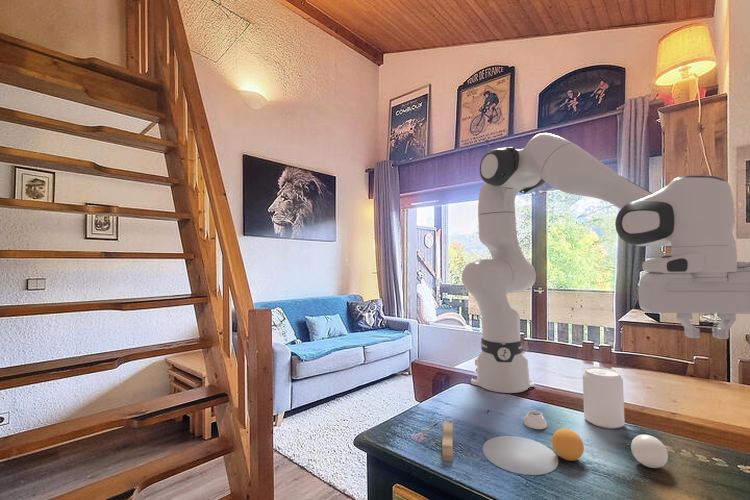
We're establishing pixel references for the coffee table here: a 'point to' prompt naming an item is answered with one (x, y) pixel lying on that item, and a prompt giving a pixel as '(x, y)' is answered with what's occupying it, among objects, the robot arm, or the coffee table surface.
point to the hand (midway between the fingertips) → (706, 337)
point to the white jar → (535, 420)
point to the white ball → (649, 451)
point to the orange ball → (567, 444)
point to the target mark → (520, 455)
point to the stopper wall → (447, 442)
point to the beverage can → (603, 397)
